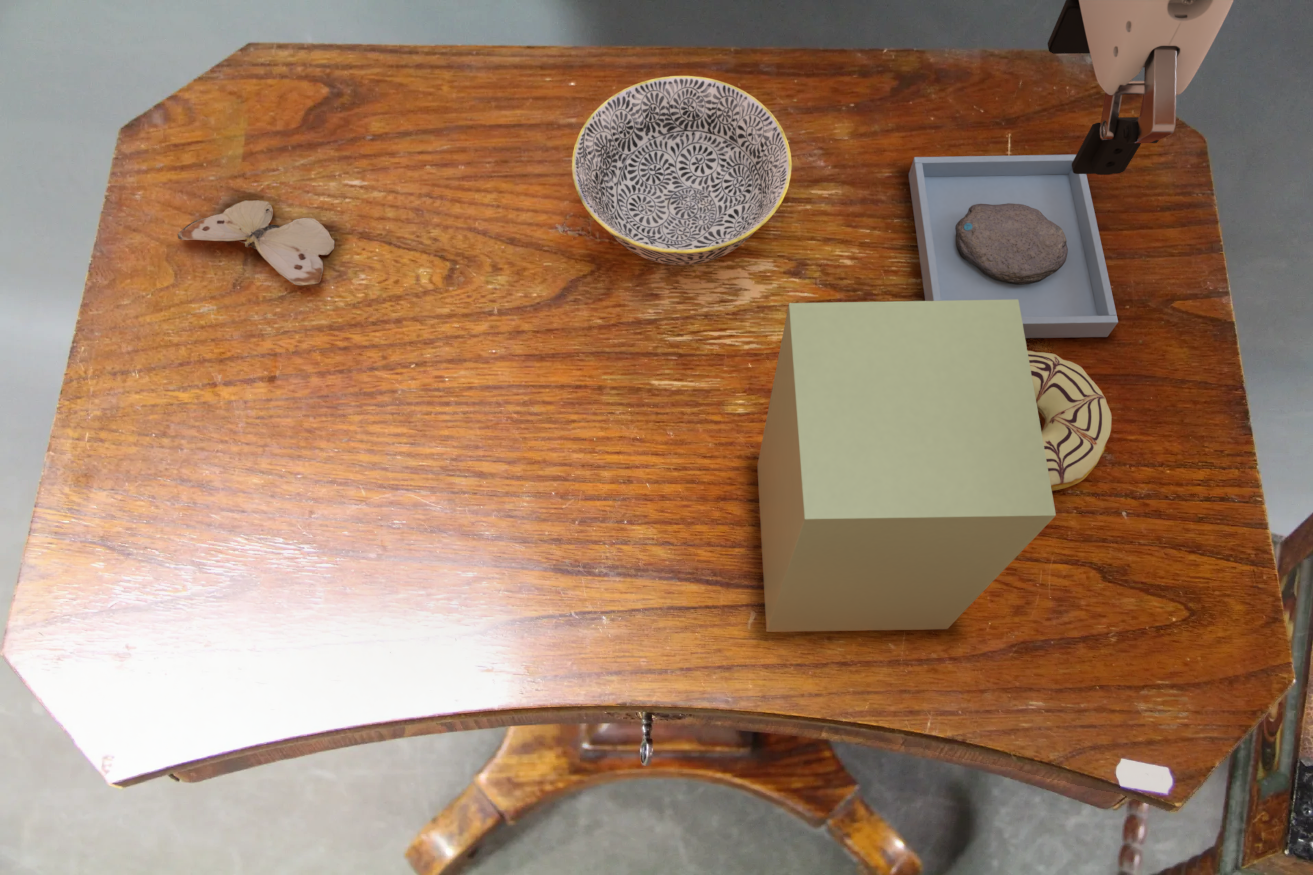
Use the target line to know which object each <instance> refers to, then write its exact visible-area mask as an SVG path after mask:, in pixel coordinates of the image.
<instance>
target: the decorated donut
mask: <svg viewBox="0 0 1313 875" xmlns="http://www.w3.org/2000/svg"><path fill="white" fill-rule="evenodd" d="M1027 352H1028V357H1029V363H1030V369H1031V375H1032V380H1033V386H1034V392H1035V398H1036V403H1037V409H1038V415H1039V421H1040V425H1041V432H1042V438H1043V444H1044V449H1045V455H1046V461H1047V467H1048V472H1049V478H1050V484H1051V490H1052V492H1053V491H1058V490H1063V489H1067V488H1070V487H1072V486H1075V485H1076V484H1079V483H1080V482H1082V481H1083V480H1085V479H1086V478H1087V477H1088V476H1089V474H1090V473H1091V472H1092V471H1093V470H1094V469H1095V467H1096V466H1097V464H1098V463H1099V461H1100V460H1101V457H1102V455H1103V454H1104V452H1105V450H1106V444H1107V442H1108V440H1109V438H1110V435H1111V432H1112V420H1113V419H1112V418H1113V417H1112V412H1111V410H1110V407H1109V405H1108V402H1107V399H1106V398H1107V397H1105V396H1104V393H1103V392H1102V390H1101V389H1100V388H1099V386H1098V385H1097V384H1096V383H1095V382H1094V380H1092V378H1091V377H1090V376H1089V375H1088V374H1087V372H1086V371H1085V370H1084V368H1083V367H1082V366H1081V365H1079V364H1078V363H1075V362H1073V361H1070V360H1066V359H1063V358H1062V357H1060V356H1058V355H1057V354H1055V353H1052V352H1042V351H1041V352H1038V351H1033V350H1027Z"/></svg>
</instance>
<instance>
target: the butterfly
mask: <svg viewBox="0 0 1313 875" xmlns="http://www.w3.org/2000/svg"><path fill="white" fill-rule="evenodd" d="M273 215H274V208H273V206H272V204H271V202H270V201H266V200H258V199H257V200H248V199H244V200H242V201H240V202H237V203H233V205H231V206H230V207H228V208H226V209H224V211H223V212H221V213H219V214H217V213H216V214H213V215H210V216H207V217H204V218H200V219H196V220H194V221H192V222H191V223H188V224H187V225H186V226H185V227H183V228H182V229H181V230H180V231H179V232H178V233H177V238H178V240H180V241H190V240H193V241H208V242H209V241H210V242H211V241H212V242H235V241H242V240H244V241H242V243H243V244H244V247H246V248H250V247H251V248H252V249H254V250H257V252H258V254H259V255H260V256H261V257H262V259H264V260H265V261H266V262H267V263H268V264H269V265H270V266H271V267H272V268H273V269H274V270H275V271H276V272H277V274H278V275H280V276H282V277H283V278H285V279H286V280H287V281H289V282H290V283H291V284H293V285H295V286H308V285H317V284H320V282H321V280H322V276H323V273H324V262H323V259H322V258H321V257H319V256H320V255H321V256H328V255H330V253H332V251H334V249H335V244H336V243H335V242H336V241H335V239H333V238H332V237H331V235H330V233H329V230H328V229H326V228H325V227H324V225H323V224H322V223H321V222H319V221H318V220H317V219H315V218H312V217H301V218H295V219H293V220H292V221H290V222H287V223H285V224H283V225H281V226H280V225H278V224H277V225H276V224H270V223H271V221H272V219H273Z"/></svg>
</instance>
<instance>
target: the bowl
mask: <svg viewBox="0 0 1313 875" xmlns="http://www.w3.org/2000/svg"><path fill="white" fill-rule="evenodd" d="M788 140H789V139H788V137H787V135H786V133H785V131H784V129H783V127H782V126H781V124H780V122H779V120H778V119H777V118H776V117H775V115H774V114H773V113H772V112H771V111H770V109H769V108H767V107H766V106H765V105H764V104H763V103H762V102H761V101H760V100H758V99H757V98H756V97H754V96H753V95H751V94H749V93H748V92H746V91H745V90H743V89H742V88H739V87H737V86H736V85H735V86H734V85H733V84H729V83H727V82H725V81H721V80H717V79H714V78H709V77H703V76H696V75H695V76H694V75H670V76H663V77H655V78H650V79H647V80H644V81H640V82H638V83H635V84H633V85H629V87H626V88H624V89H622V90H621V91H619V92H617V93H615V94H613V95H612V96H611V97H609V98H607V100H605V101H604V102H603V103H601V105H599V106H598V107H597V108H596V109H595V110H594V111H593V113H591V115H589V117H588V118H587V119H586V121H585V122H584V124H583V125H582V127H581V129H580V131H579V133H578V135H577V138H576V140H575V143H574V147H573V151H572V158H571V173H572V181H573V184H574V188H575V191H576V193H577V196H578V197H579V199H580V202H581V203H582V205H583V207H584V209H585V210H586V211H587V213H588V214H589V215H590V217H591V218H593V220H594V221H595V222H597V224H599V225H600V226H601V227H602V228H603V229H605V230H606V231H607V232H608V233H609V235H610V236H611V237H612V238H613V239H614V240H616V242H618V243H619V244H620V245H622V246H623V247H624V248H625V249H626V250H628V251H630V252H632V253H634V254H635V255H636V256H640V258H643V259H646V260H649V261H651V262H655V263H658V264H663V265H668V266H669V265H670V266H692V265H700V264H705V263H707V262H711V261H715V260H717V259H720V258H722V257H724V256H726V255H728V254H730V253H731V252H733V251H734V250H736V249H738V248H739V247H740V246H742V245H743V244H744V243H746V241H748V240H749V239H750V238H751V237H752V236H753V235H754V233H755V232H757V231H758V230H759V229H761V228H762V227H763V226H764V225H765V224H766V223H767V222H768V221H769V220H770V219H771V218H772V217H773V216H774V214H775V213H776V212H777V210H778V209H779V207H780V206H781V205H782V202H783V201H784V199H785V197H786V195H787V192H788V190H789V186H790V181H791V177H792V168H793V164H792V163H793V162H792V153H791V149H790V148H791V147H790V145H789V141H788Z"/></svg>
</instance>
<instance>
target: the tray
mask: <svg viewBox="0 0 1313 875" xmlns="http://www.w3.org/2000/svg"><path fill="white" fill-rule="evenodd" d="M1076 155H1077V154H1027V155H1026V154H1023V155H1022V154H1020V155H966V156H965V155H964V156H963V155H962V156H961V155H960V156H959V155H957V156H956V155H955V156H914V157H913V159H912V163H911V166H910V169H909V171H908V182H909V189H910V196H911V205H912V212H913V218H914V226H915V234H916V242H917V249H918V250H917V251H918V256H919V266H920V272H921V279H922V286H923V293H924V294H923V295H924V301H953V300H1016V299H1018V300H1019V306H1020V311H1021V317H1022V323H1023V329H1024V334H1025V339H1060V338H1061V339H1062V338H1063V339H1065V338H1108V337H1109V336H1110V334H1111V333H1112V331H1113V330H1114V328H1115V327H1116V326H1117V324H1118V323H1119V320H1118V316H1117V310H1116V305H1115V301H1114V296H1113V292H1112V287H1111V281H1110V277H1109V272H1108V268H1107V264H1106V259H1105V254H1104V250H1103V245H1102V240H1101V235H1100V231H1099V227H1098V221H1097V217H1096V213H1095V212H1096V211H1095V209H1094V208H1095V206H1094V203H1093V198H1092V194H1091V189H1090V185H1089V180H1088V174H1075V173H1073V169H1072V162H1073V160H1074V159H1075V157H1076ZM1007 203H1012V204H1023V205H1026V206H1029V207H1031V208H1035V209H1037V210H1039V211H1040V212H1041V213H1042V214H1043V215H1044V216H1045V217H1046V218H1047V219H1048V220H1050V221H1052V222H1053V223H1055V224H1056V225H1058V226H1059V227H1060V228H1061V229H1062V230H1063V232H1064V234H1065V237H1066V241H1067V242H1066V244H1067V247H1068V253H1067V258H1066V261H1065V263H1064V264H1063V266H1062V267H1061V268H1060V269H1059V270H1057V271H1056V272H1055V273H1053V274H1051V275H1050V276H1048V277H1046V278H1045V279H1043V280H1041V281H1039V282H1036V283H1032V284H1024V285H1015V284H1009V283H1004V282H1000V281H996V280H994V279H992V278H990V277H988V276H986V275H984V274H983V273H982V272H981V271H980V270H979V269H978V268H977V267H975V266H974V265H973V264H971V263H969V262H968V261H966V260H965V259H963V258H962V257H961V256H960V255H959V253H958V250H957V248H956V229H955V227H956V224H957V223H958V222H959V221H960V220H961V219H962V218H964V217H965V215H966V214H967V213H968V210H969V208H970V207H971V206H972V205H976V204H989V205H1000V204H1007Z"/></svg>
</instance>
